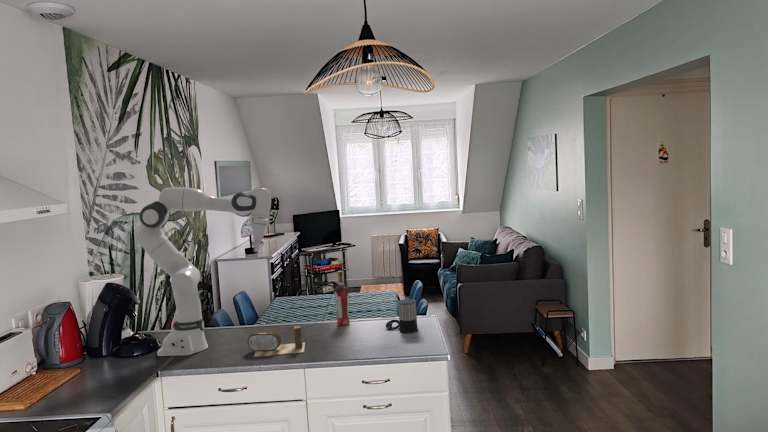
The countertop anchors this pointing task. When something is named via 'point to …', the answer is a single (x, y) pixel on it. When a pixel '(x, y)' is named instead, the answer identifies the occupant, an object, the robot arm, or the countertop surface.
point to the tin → (264, 341)
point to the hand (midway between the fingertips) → (256, 251)
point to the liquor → (341, 301)
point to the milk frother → (405, 317)
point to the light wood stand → (286, 346)
